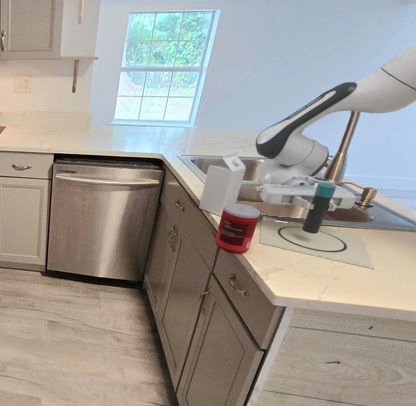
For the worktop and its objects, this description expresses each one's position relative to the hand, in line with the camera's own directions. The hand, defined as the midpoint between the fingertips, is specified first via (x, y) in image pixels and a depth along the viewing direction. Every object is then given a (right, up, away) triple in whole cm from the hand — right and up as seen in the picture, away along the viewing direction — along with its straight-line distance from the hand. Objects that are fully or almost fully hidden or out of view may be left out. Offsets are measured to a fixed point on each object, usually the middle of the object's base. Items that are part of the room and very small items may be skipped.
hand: (321, 207), depth 93 cm
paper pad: (+3, -9, +6) cm, 11 cm away
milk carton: (-11, -1, +25) cm, 27 cm away
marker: (0, -6, +4) cm, 7 cm away
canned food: (-20, -11, +4) cm, 23 cm away
